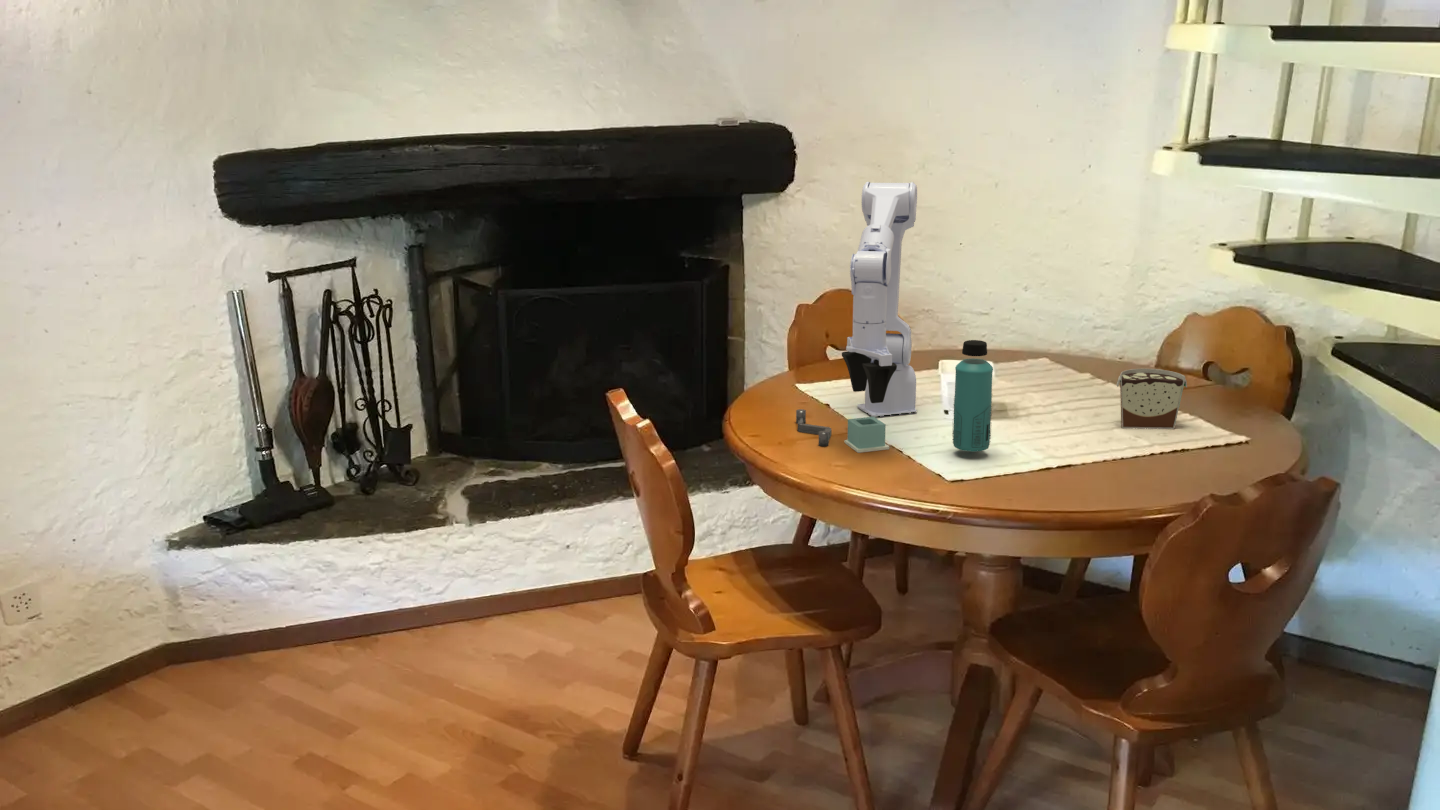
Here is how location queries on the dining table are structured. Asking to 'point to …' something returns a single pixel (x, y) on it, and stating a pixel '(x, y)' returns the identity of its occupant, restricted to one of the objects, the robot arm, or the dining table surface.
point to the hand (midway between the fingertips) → (867, 396)
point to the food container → (1150, 398)
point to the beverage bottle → (972, 399)
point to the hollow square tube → (866, 432)
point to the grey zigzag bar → (813, 428)
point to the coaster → (866, 448)
